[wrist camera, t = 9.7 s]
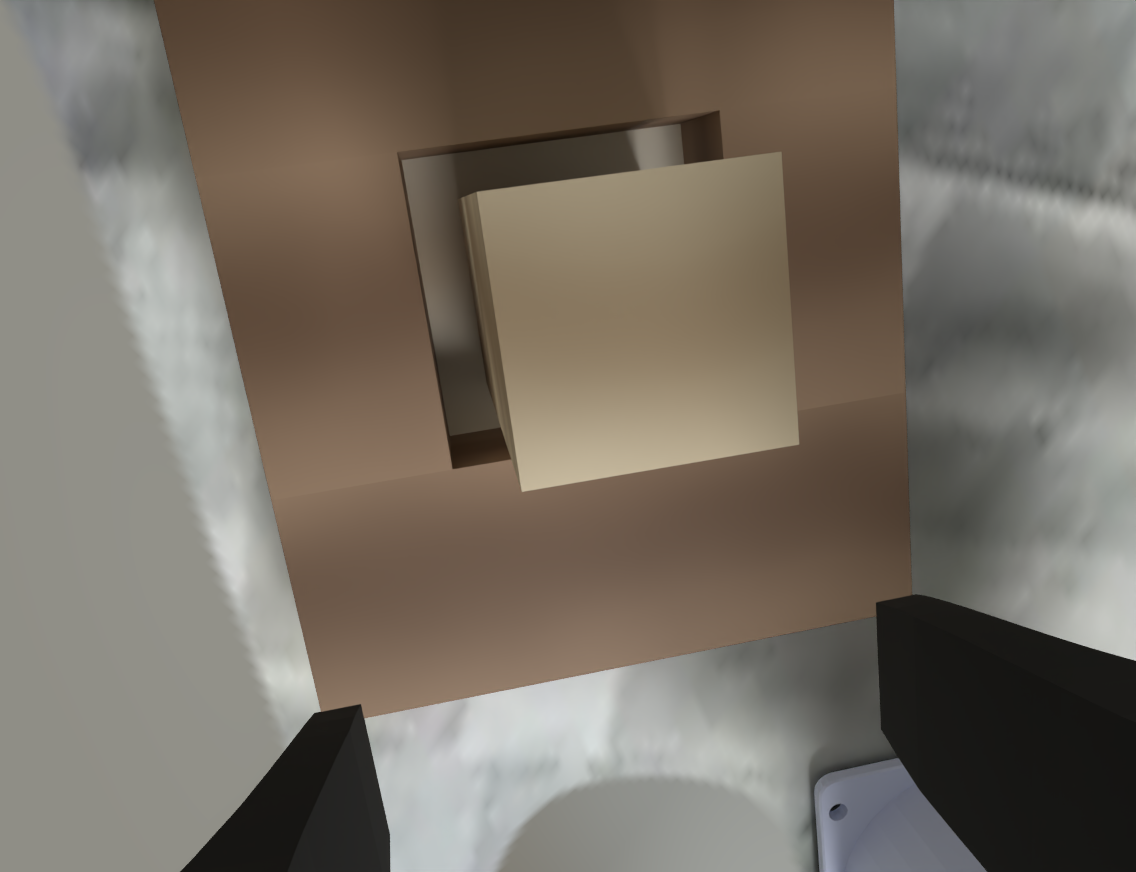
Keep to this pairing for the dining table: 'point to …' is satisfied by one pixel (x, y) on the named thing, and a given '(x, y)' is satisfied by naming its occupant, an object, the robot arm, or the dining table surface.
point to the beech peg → (635, 317)
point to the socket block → (451, 339)
